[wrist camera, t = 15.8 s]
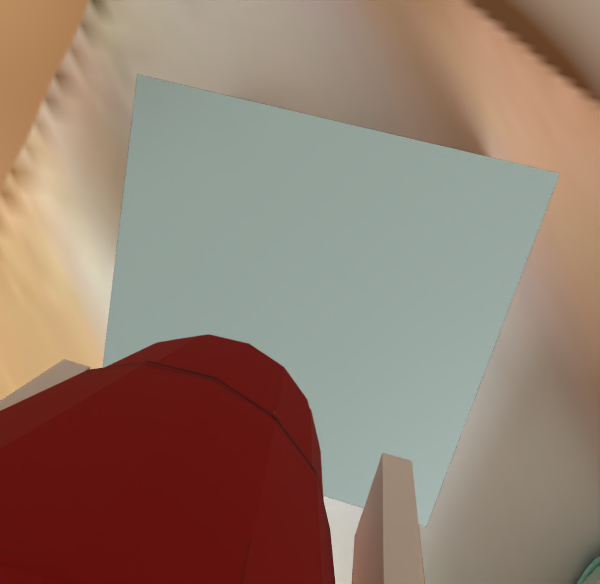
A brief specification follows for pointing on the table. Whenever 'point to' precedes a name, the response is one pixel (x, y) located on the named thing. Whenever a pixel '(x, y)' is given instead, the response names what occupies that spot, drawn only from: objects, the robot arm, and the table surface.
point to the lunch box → (591, 573)
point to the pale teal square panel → (325, 266)
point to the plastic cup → (165, 474)
